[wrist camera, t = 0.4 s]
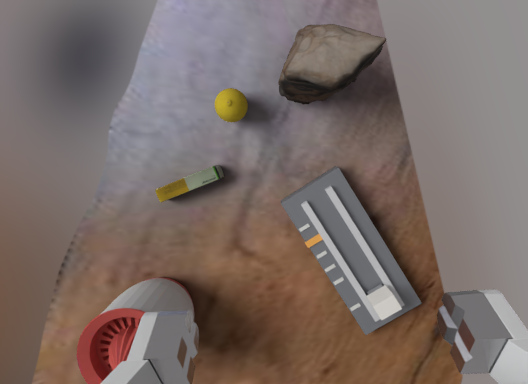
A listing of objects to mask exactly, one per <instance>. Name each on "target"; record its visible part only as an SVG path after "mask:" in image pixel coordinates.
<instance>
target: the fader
mask: <svg viewBox="0 0 528 384" xmlns="http://www.w3.org/2000/svg"><path fill="white" fill-rule="evenodd" d="M367 293H368V295H367V296H366V297H367V298H368V300H369V301H370V303H371V305H372V306H373V308H374V309H375V311H376V312H377V314H378V316H379V317H380V319H381V320H384V319H385V318H387V317H389V316H391V315H392V314H394V313H396V312H398V311H399V310H401V309H402V308H401V306H400V304H399V303H398V301H397V300H396V298H395V296H394V295H393V294H392V292H391V291H390V290H389V289H388V288H387V286H386V285H384V286H382V284H380V285H378V286H376V287H375V288H373V289H371V290H369V291H368V292H367Z"/></svg>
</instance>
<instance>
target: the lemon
mask: <svg viewBox="0 0 528 384" xmlns="http://www.w3.org/2000/svg"><path fill="white" fill-rule="evenodd" d="M247 108H248V104H247V100H246V97H245V96H244V94H243V93H241V92H240V91H238V90H237V89H232V88H230V89H225V90H223V91H221V92H220V93H219V94H218V95H217V97H216V100H215V109H216V112H217V114H218V115H219V117H220V118H221V119H223V120H224V121H227V122H237V121H239V120H241V119H242V118H243V117H244V116H245V114H246V112H247Z"/></svg>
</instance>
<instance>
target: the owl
mask: <svg viewBox="0 0 528 384" xmlns="http://www.w3.org/2000/svg"><path fill="white" fill-rule="evenodd" d="M385 41H386V38H382V37H377V36H374V35H371V34H369V33H365V32H361V31H357V30H354V29H351V28H347V27H343V26H339V25H334V24H328V25H308V26H306V27H305V28H303V29H300V30H299V31H298V32H297V35H296V38H295V42H294V44H293V46H292V48H291V50H290V52H289V55H288V57H287V60H286V62H285V64H284V67H283V70H282V73H281V76H280V79H279V92H280V95H281V96H285V97H286V98H287V99H288V100H291V101H294V102H298V103H302V104H309V103H310V102H313V101H316V100H321V101H323V100H326V99H327V98H328V97H330V96H331V95H332V94H334V93H336V92H338V91H340V90H342V89H343V88H345V87H346V86H348V85H349V84H350V83H351V82H354V81H355V80H356V77H357V76H358V75H359V73H360V72H361V71H362V70H364V69H365V68H366V67H368V66H369V65H370V64H372V62H373V61H374V59H375V58H376V57H377V56H378V55H379V54H380V52H381V50H382V47H383V46H382V45H383V44H384V43H385Z"/></svg>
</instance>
